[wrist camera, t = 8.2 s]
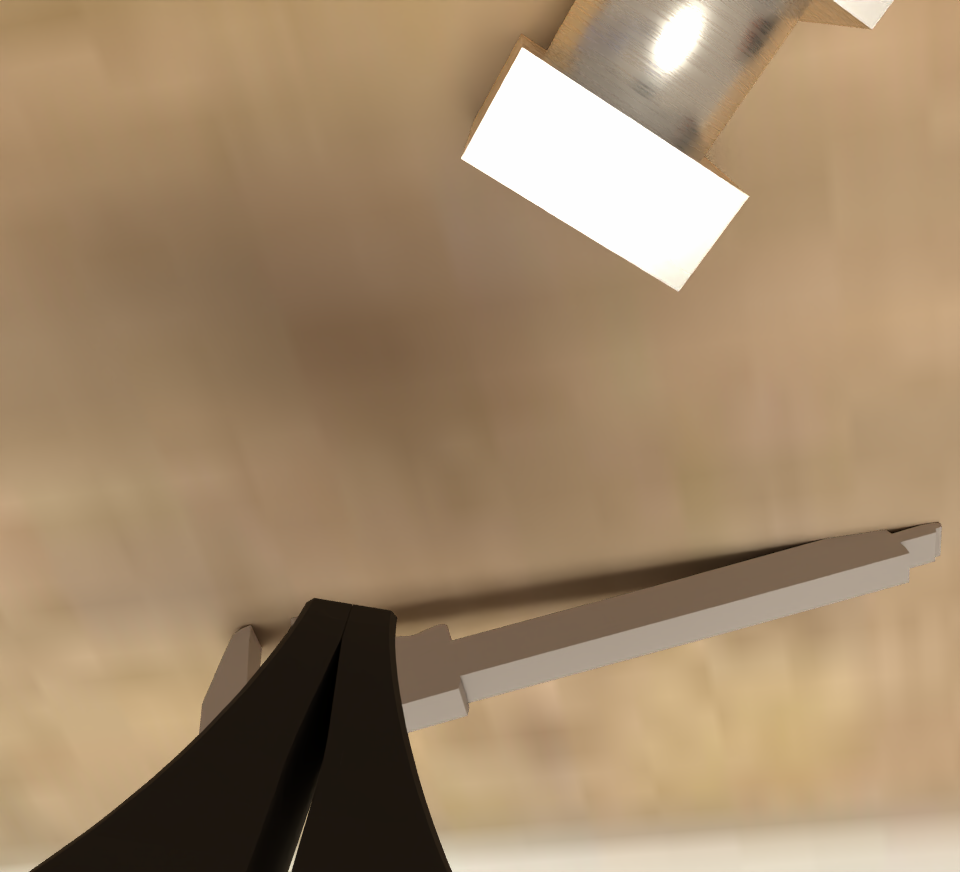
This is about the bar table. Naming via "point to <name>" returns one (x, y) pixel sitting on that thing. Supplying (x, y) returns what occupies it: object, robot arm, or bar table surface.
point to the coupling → (638, 117)
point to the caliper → (618, 624)
